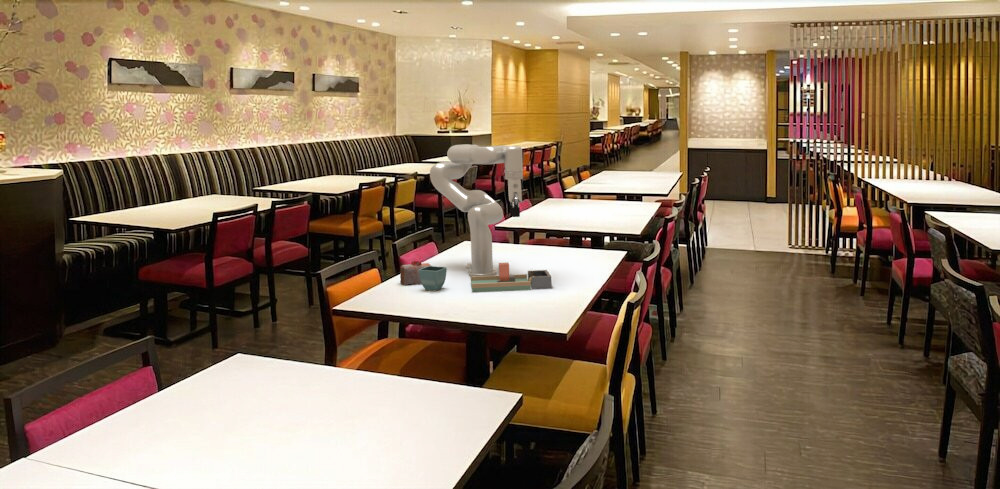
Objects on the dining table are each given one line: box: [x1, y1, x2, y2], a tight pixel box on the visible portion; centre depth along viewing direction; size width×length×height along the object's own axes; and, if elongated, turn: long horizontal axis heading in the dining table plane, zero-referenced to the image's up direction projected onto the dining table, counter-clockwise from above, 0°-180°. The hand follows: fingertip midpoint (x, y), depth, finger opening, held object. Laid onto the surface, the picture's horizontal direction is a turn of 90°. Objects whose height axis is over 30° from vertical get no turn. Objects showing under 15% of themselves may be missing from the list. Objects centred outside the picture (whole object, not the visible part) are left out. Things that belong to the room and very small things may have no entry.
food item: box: [399, 260, 432, 286], centre depth 328 cm, size 14×8×10 cm, turn 115°
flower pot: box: [419, 265, 448, 292], centre depth 315 cm, size 9×9×9 cm
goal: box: [527, 269, 553, 290], centre depth 318 cm, size 8×13×5 cm, turn 4°
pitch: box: [470, 273, 532, 293], centre depth 317 cm, size 24×15×3 cm, turn 94°
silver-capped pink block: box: [497, 262, 516, 283], centre depth 316 cm, size 7×4×8 cm, turn 94°
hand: (514, 215), depth 325 cm, fingers open, 9 cm apart
